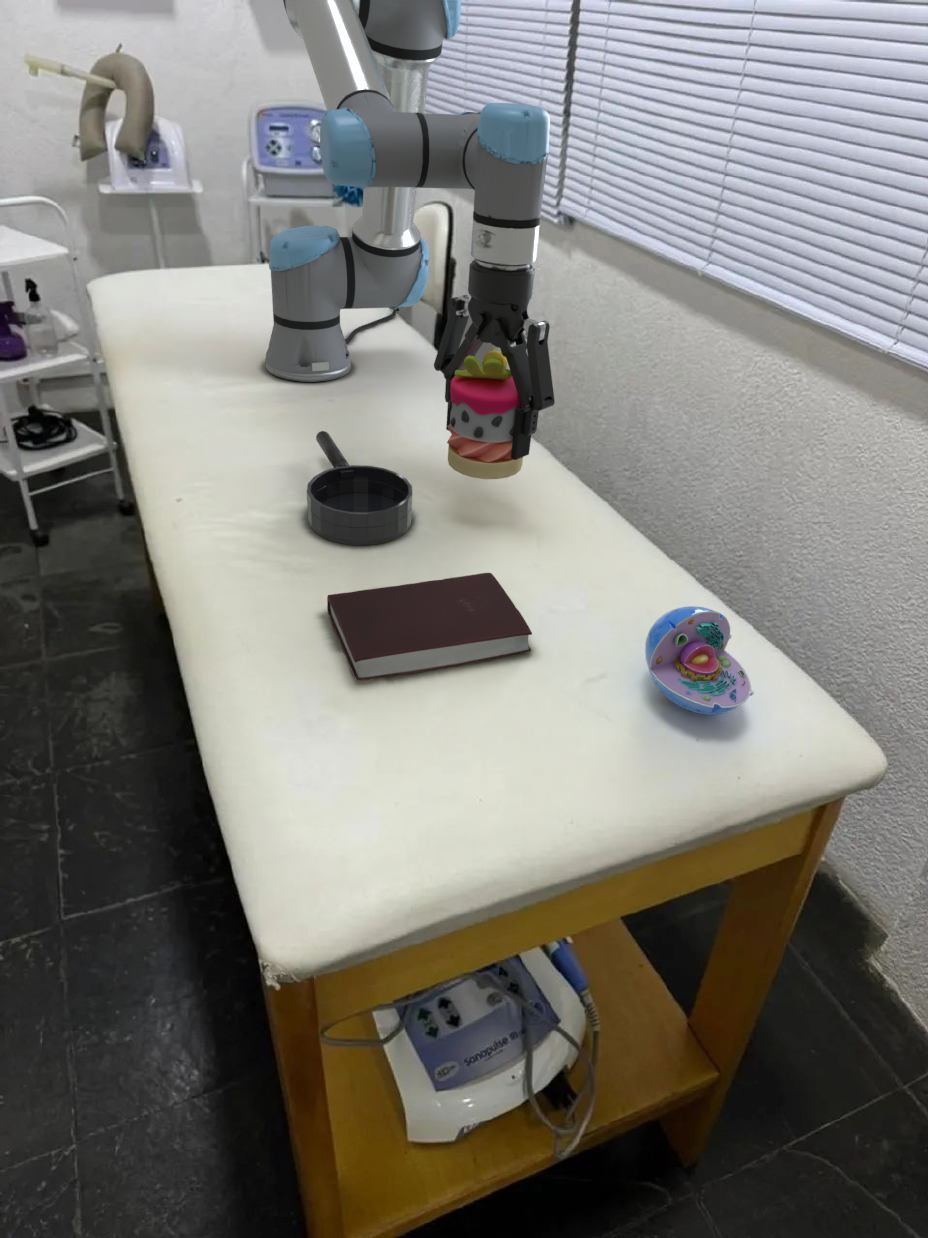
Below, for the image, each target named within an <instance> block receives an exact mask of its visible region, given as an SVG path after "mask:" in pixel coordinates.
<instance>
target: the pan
mask: <svg viewBox="0 0 928 1238" xmlns="http://www.w3.org/2000/svg"><path fill="white" fill-rule="evenodd" d="M345 470H353V471H354V477H353V478H345V479H341V478H340V471H345ZM306 505H307V506H306V509H307V520H308V524H309V527H310V528H311V529H312V530H313V531H314V533H315V534H317V535H318V536H320V537H322V538H323V539H326V540H328V541H331V542H334V543H337V544H341V545H348V546H349V545H350V546H373V545H374V546H375V545H379V544H385V543H388V542H391V541H394V540H395V539H397V538H400V537H401V536H403V535H404V534H405V533H406V532H407V531H408V530H409V529H410V526H411V524H412V517H413V516H412V515H413V486H412V483H410V481H409V480H408V479H407V478H406V477H404V476H403V475H401V474H400V473H398V472H396V471H393V470H390V469H388V468H384V467H379V466H373V465H362V464H361V465H357V464H356V465H355V464H354V465H352V464H351V465H350V466H343V467H336V468H334V467H333V468H329V469H325V470H323V471H322V472H320V473H318V474H316V475H314V476H313V477H312V478H311V479H310V480H309V482H308V483H307V486H306Z"/></svg>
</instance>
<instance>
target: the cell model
mask: <svg viewBox="0 0 928 1238" xmlns="http://www.w3.org/2000/svg"><path fill="white" fill-rule="evenodd" d="M645 638H646V639H645V642H644V644H645V645H644V654H645V655H644V656H645V661H646V665H647V669H648V672H649V675H650V677H651V679H652V682H653V683H654V685H655V686H656V688H657V689H658V690H659V691H660V693H661V694H663V696H665V697H666V699H668V700H669V701H671V702H672V703H673V704H675V705H676V706H678V707H679V708H682V709H685V710H688V711H690V712H692V713H697V714H702V715H710V716H712V715H713V716H714V715H722V714H725V713H726V714H727V713H729V712H732V711H734V710H736V709H737V708H738V707H740V706H741V705H743V704H744V703H746V702H747V701H748V699H749V698H750V697H751V696H752V695H754V694H755V691H754V690H752V685H751V680H750V678H749V675H748V673H747V672H746V669H744V667H743V666H742V664H741V663H739V661H738V660H737V659H736V658H734V656H733V655H731V654H730V653H729V652H727V651H726V648H727V646H728V643H729V642H730V640H731V638H732V634H731V624H730V622H729V620H728V618H727V617H726V616H725V614H723V613H721V612H718V611H716V610H713V609H710V608H707V607H703V606H695V605H691V606H690V605H689V606H682V607H676V608H673V609H671V610H669V611H667V612H665V613H664V614H662V615H661V616H660V617H658V618H657V619H656V621H655V622H654V623H653V624H652V626H651V627H650V629H649V630H648V633H647V636H646V637H645Z"/></svg>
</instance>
